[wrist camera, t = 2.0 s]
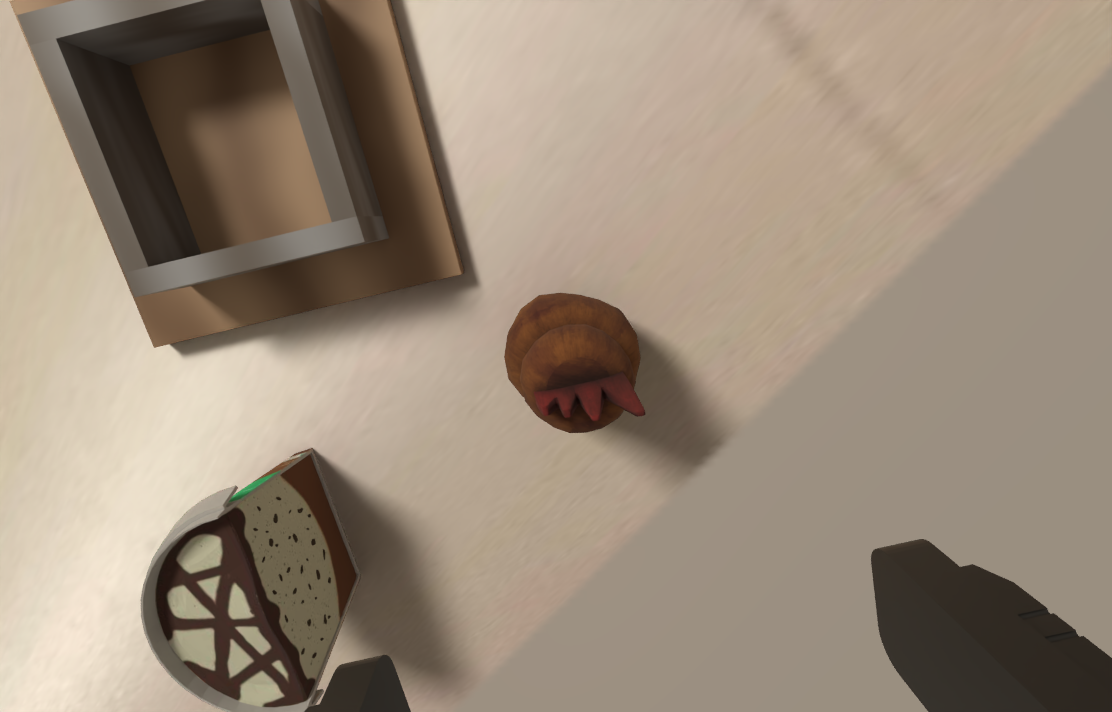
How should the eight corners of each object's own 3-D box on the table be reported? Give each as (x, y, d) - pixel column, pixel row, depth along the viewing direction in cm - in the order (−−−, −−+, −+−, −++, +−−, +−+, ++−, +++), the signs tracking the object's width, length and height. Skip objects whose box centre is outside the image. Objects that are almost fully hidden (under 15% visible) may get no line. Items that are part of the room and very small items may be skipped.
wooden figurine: (632, 296, 34) (703, 359, 19) (613, 389, 35) (665, 513, 20) (519, 277, 33) (501, 325, 19) (504, 371, 34) (476, 486, 20)
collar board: (368, -79, 29) (327, -149, 23) (464, 272, 33) (448, 283, 27) (30, 9, 29) (-89, -39, 24) (167, 343, 33) (93, 368, 28)
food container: (208, 449, 35) (81, 538, 25) (304, 425, 35) (212, 506, 25) (280, 615, 38) (190, 752, 28) (368, 594, 38) (308, 725, 28)
